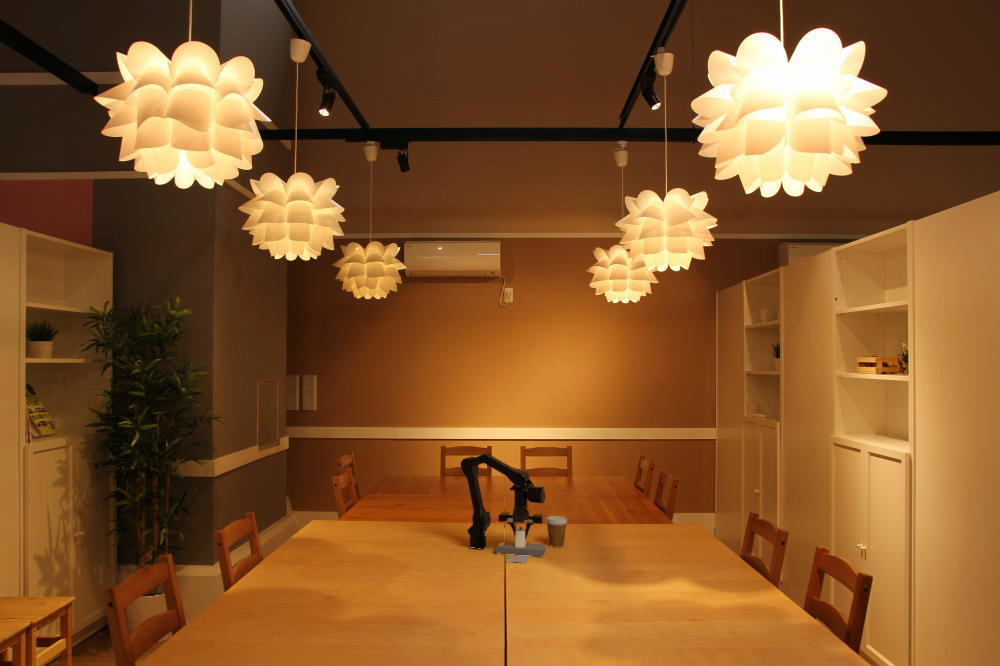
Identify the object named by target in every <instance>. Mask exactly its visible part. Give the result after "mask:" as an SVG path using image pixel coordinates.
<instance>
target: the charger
mask: <svg viewBox="0 0 1000 666" xmlns="http://www.w3.org/2000/svg"><path fill="white" fill-rule="evenodd" d="M525 533H526V528H523V526H519V528H516V538H515V542H514V543H515V547H518V548H525V547H526V544H527V538H526V539H525Z"/></svg>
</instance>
